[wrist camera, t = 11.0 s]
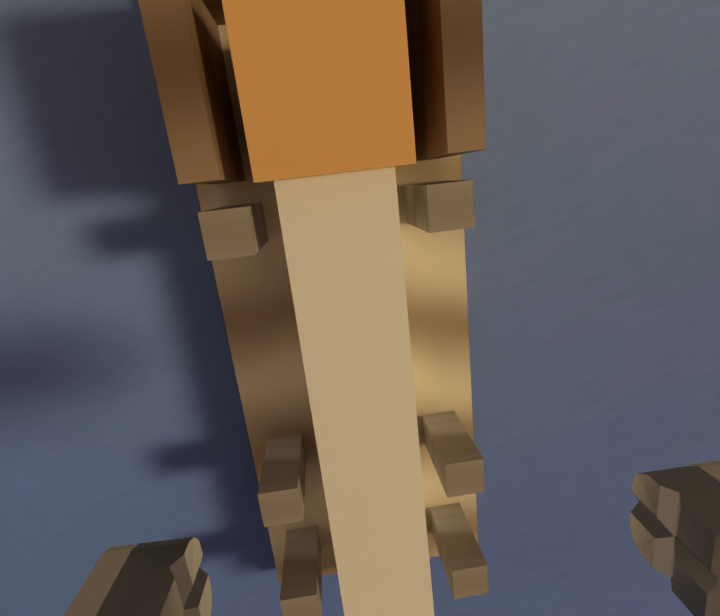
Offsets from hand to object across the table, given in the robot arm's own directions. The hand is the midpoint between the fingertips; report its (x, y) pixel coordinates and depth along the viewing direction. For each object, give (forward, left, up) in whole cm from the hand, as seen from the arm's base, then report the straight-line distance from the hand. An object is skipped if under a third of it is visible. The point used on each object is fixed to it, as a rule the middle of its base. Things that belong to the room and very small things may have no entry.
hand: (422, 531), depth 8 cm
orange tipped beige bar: (-1, 0, -12) cm, 13 cm away
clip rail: (0, +1, -13) cm, 13 cm away
